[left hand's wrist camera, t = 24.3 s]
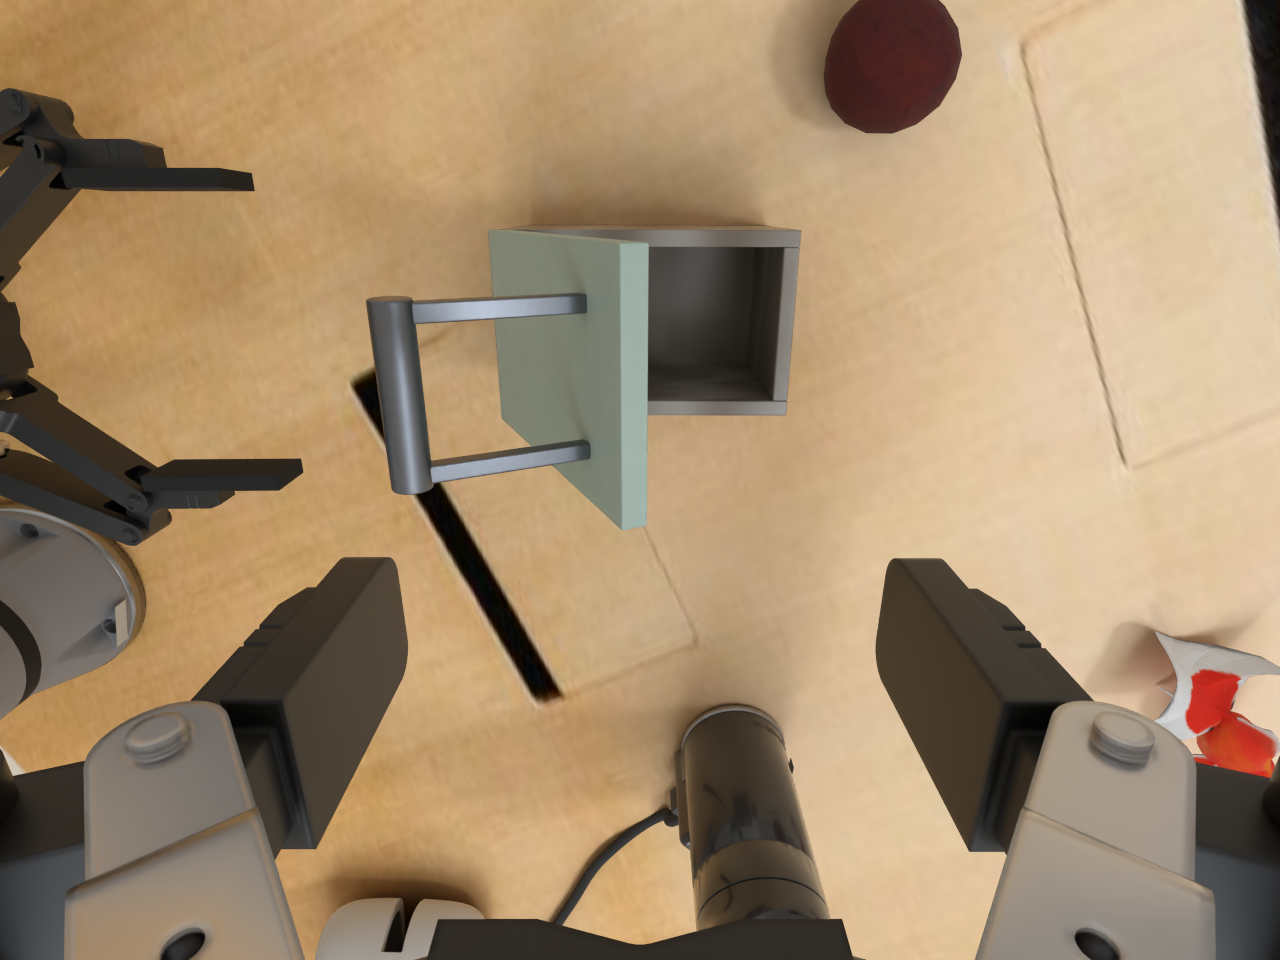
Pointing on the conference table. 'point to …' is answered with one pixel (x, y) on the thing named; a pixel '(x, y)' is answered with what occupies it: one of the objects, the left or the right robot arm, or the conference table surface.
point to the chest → (714, 314)
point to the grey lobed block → (386, 929)
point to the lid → (537, 368)
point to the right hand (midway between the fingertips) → (267, 337)
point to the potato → (891, 63)
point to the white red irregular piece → (1217, 705)
